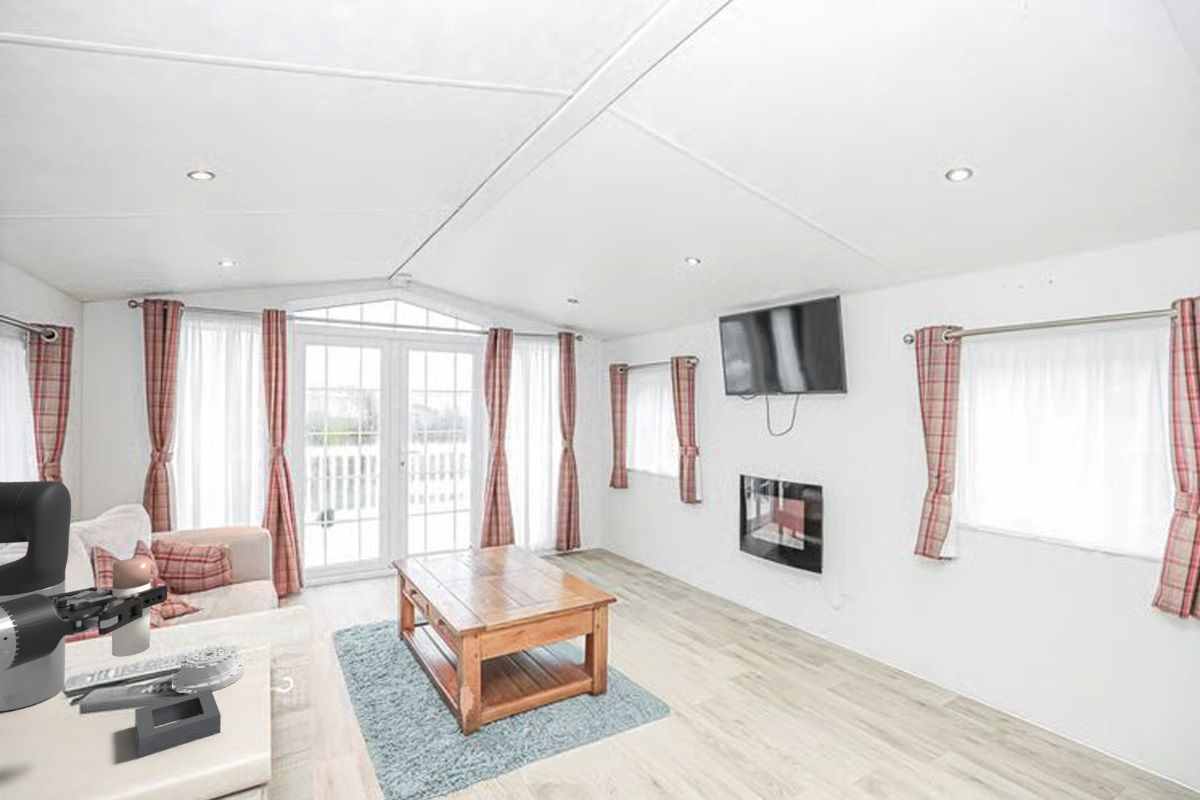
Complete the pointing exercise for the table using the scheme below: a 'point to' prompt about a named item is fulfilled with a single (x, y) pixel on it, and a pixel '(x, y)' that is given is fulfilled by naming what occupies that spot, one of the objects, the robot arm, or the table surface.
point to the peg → (125, 581)
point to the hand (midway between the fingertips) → (153, 590)
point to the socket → (178, 731)
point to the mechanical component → (208, 669)
